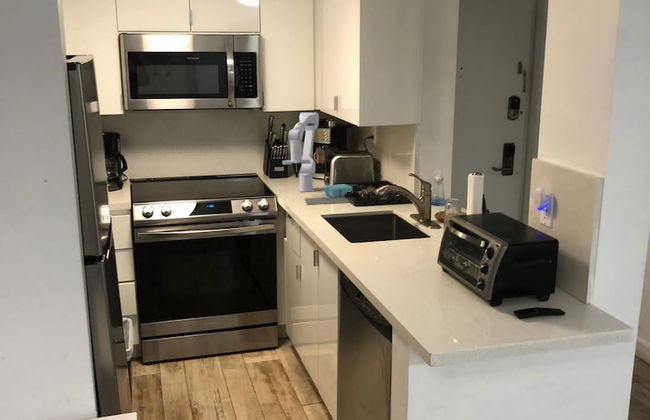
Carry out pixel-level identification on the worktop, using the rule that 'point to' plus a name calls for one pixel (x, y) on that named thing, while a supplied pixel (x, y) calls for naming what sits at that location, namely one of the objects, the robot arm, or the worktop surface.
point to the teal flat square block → (337, 190)
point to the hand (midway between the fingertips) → (296, 177)
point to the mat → (326, 200)
